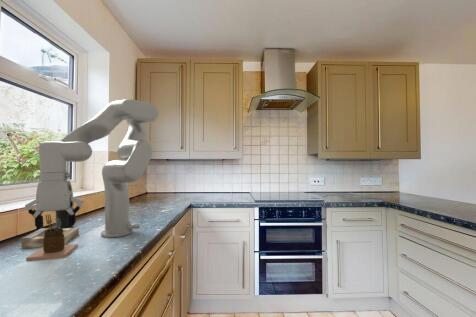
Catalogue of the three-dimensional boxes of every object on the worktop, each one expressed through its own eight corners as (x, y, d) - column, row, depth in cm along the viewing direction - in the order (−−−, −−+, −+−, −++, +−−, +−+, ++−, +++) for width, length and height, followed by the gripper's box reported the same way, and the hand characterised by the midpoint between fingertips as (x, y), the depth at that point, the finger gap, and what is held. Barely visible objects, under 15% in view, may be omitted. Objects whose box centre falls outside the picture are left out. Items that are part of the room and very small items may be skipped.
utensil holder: (50, 254, 85) (50, 217, 85) (38, 251, 87) (38, 216, 87) (68, 248, 90) (68, 214, 90) (56, 246, 93) (56, 212, 93)
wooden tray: (78, 234, 111) (78, 226, 111) (64, 244, 97) (64, 235, 98) (41, 237, 108) (41, 228, 108) (21, 248, 94) (21, 238, 94)
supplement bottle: (70, 225, 128) (69, 200, 128) (75, 227, 124) (75, 202, 124) (53, 228, 123) (53, 202, 123) (58, 230, 118) (58, 204, 118)
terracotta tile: (77, 246, 95) (77, 243, 95) (65, 257, 85) (65, 254, 85) (43, 249, 93) (43, 246, 93) (26, 260, 82) (26, 257, 82)
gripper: (85, 175, 95) (87, 222, 95) (30, 177, 91) (32, 226, 91) (77, 177, 87) (79, 227, 88) (18, 179, 83) (20, 232, 84)
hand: (56, 226), depth 89 cm, fingers open, 9 cm apart
